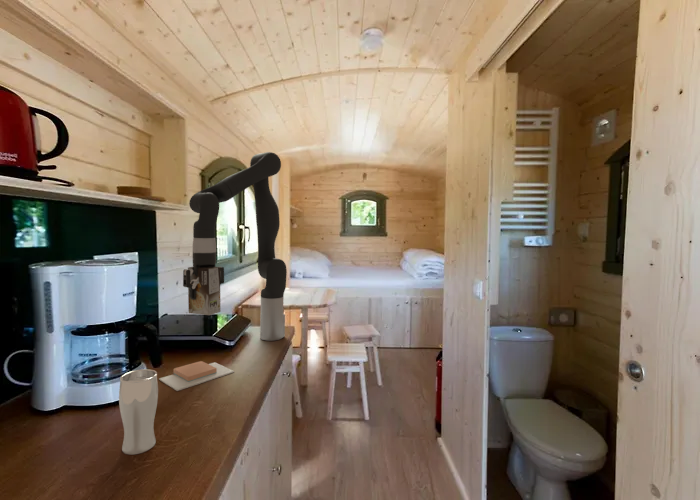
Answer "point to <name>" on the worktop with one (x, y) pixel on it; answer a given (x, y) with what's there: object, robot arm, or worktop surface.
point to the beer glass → (138, 409)
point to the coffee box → (206, 291)
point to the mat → (180, 383)
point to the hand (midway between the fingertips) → (204, 297)
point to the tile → (195, 371)
